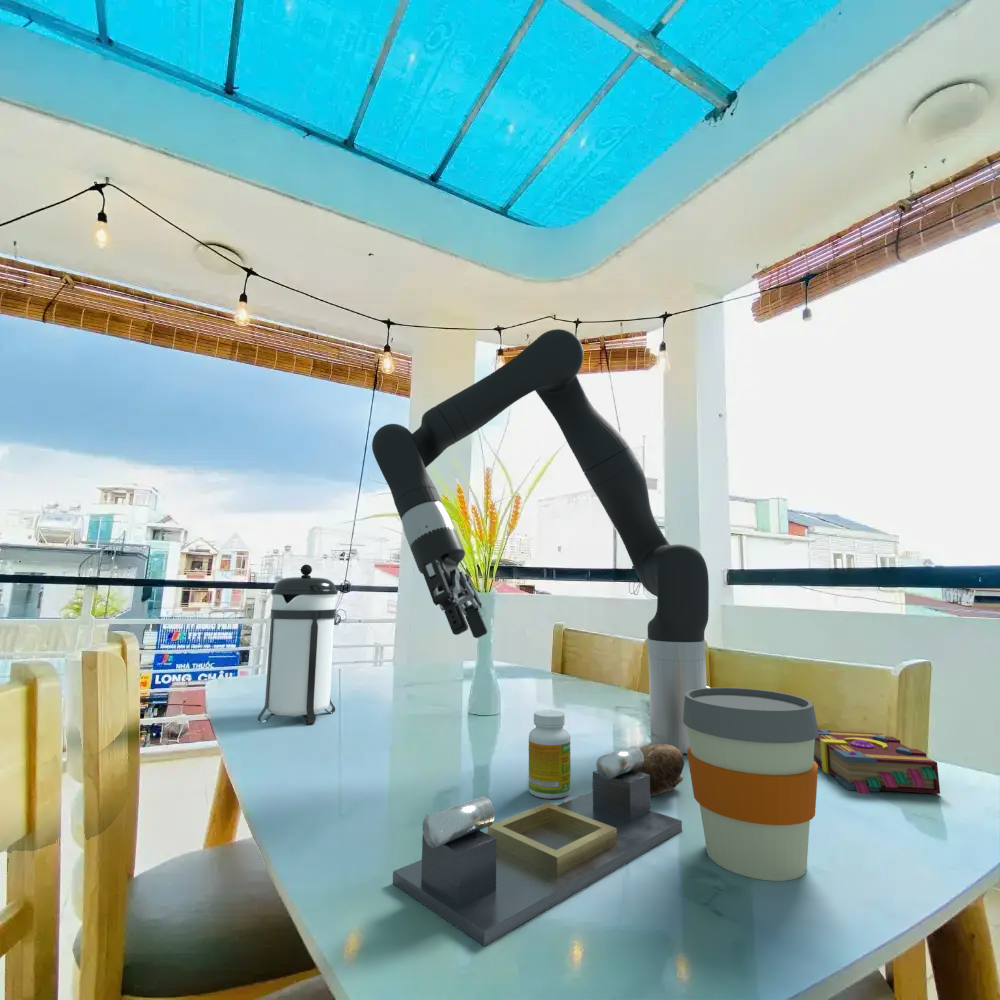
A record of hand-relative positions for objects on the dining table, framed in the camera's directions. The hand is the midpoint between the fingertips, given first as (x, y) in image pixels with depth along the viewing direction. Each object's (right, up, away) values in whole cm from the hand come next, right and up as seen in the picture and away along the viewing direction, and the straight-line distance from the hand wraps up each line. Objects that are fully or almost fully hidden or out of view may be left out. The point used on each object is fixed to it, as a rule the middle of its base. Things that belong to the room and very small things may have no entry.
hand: (472, 634), depth 82 cm
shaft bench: (+9, -15, -26) cm, 32 cm away
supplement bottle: (+10, -18, -9) cm, 23 cm away
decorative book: (+56, -20, -2) cm, 60 cm away
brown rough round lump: (+24, -19, -9) cm, 32 cm away
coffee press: (-36, -24, +31) cm, 53 cm away
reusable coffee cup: (+29, -16, -26) cm, 42 cm away
